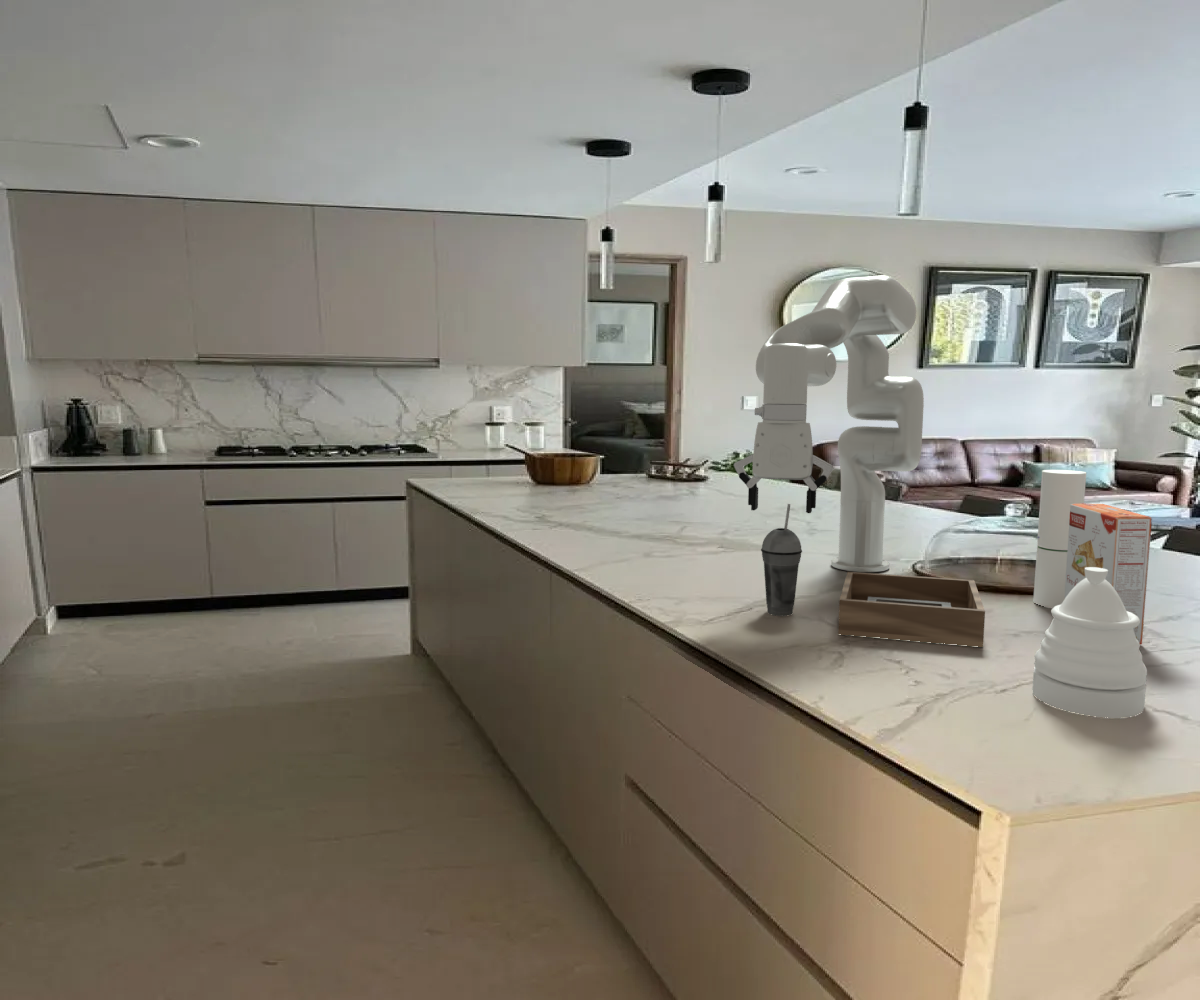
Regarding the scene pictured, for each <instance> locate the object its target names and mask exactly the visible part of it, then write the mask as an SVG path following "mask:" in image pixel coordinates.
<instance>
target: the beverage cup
mask: <svg viewBox="0 0 1200 1000" xmlns="http://www.w3.org/2000/svg"><path fill="white" fill-rule="evenodd" d="M790 510H791V504H790V503H787V507H786V513H785V521H784V528H783V527H782V528H781V527H779V528H775V529H773V530H771V531H769V532H768V533H767V534H766V535H765V537H764V539H763V542H762V545H761V549H760V551H761V556H762V561H763V569H764V586H765V600H766V608H767V611H766V612H767V613H768V614H769V615H771V614H772V615H771V616H775V615H777V616H776V617H788V616H787V615H789V616H791V614H792V613H793V610H794V606H795V599H796V591H797V582H798V576H799V575H798V573H799V567H800V566H799V565H800V562H801V558H802V553H803V550H802V544H801V541H800V538H799V537H798V535H797V534H796V533H795V532H794V531H792V530H790V529H789V528H788V526H789V518H790ZM793 614H794V613H793ZM793 614H792V615H793Z"/></svg>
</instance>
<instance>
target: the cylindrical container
mask: <svg viewBox="0 0 1200 1000" xmlns="http://www.w3.org/2000/svg"><path fill="white" fill-rule="evenodd" d="M1086 482H1087V472H1086V471H1082V470H1073V469H1072V470H1071V469H1043V470H1041V484H1040V495H1039V496H1040V497H1039V498H1040V500H1039V509H1038V510H1039V513H1038V514H1039V515H1038V528H1037V540H1036V541H1037V542H1036V543H1037V544H1036V559H1035V569H1034V570H1035V572H1034V573H1035V574H1034V585H1033V586H1034V587H1033V588H1034V589H1033V602H1034V603H1036V604H1038V605H1037V606H1039V605H1041V606H1040V607H1042V606H1044V607H1043V608H1047V609H1053V608H1054V607H1055V606H1057V605H1061V604H1062V602H1063V601H1064V596H1065V581H1066V566H1067V551H1068V535H1069V519H1070V505H1071V504H1081V503H1085V497H1086V495H1085V494H1086ZM1034 603H1033V604H1034ZM1036 604H1035V605H1036Z"/></svg>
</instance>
